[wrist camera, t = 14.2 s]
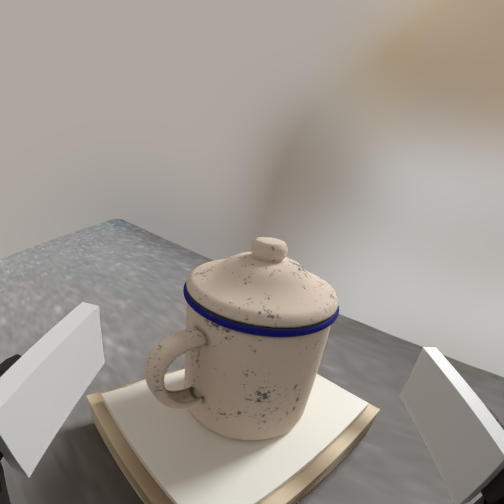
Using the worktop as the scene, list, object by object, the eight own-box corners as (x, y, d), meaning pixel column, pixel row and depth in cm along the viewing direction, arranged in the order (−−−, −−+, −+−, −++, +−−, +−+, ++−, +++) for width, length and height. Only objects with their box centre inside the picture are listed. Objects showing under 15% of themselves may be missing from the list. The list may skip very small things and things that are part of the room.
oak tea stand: (256, 363, 30) (262, 332, 29) (366, 433, 21) (383, 402, 20) (93, 422, 18) (84, 387, 17) (201, 567, 9) (202, 555, 8)
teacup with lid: (246, 350, 26) (266, 221, 23) (330, 403, 20) (376, 255, 17) (122, 396, 17) (110, 228, 14) (201, 493, 11) (213, 298, 8)
